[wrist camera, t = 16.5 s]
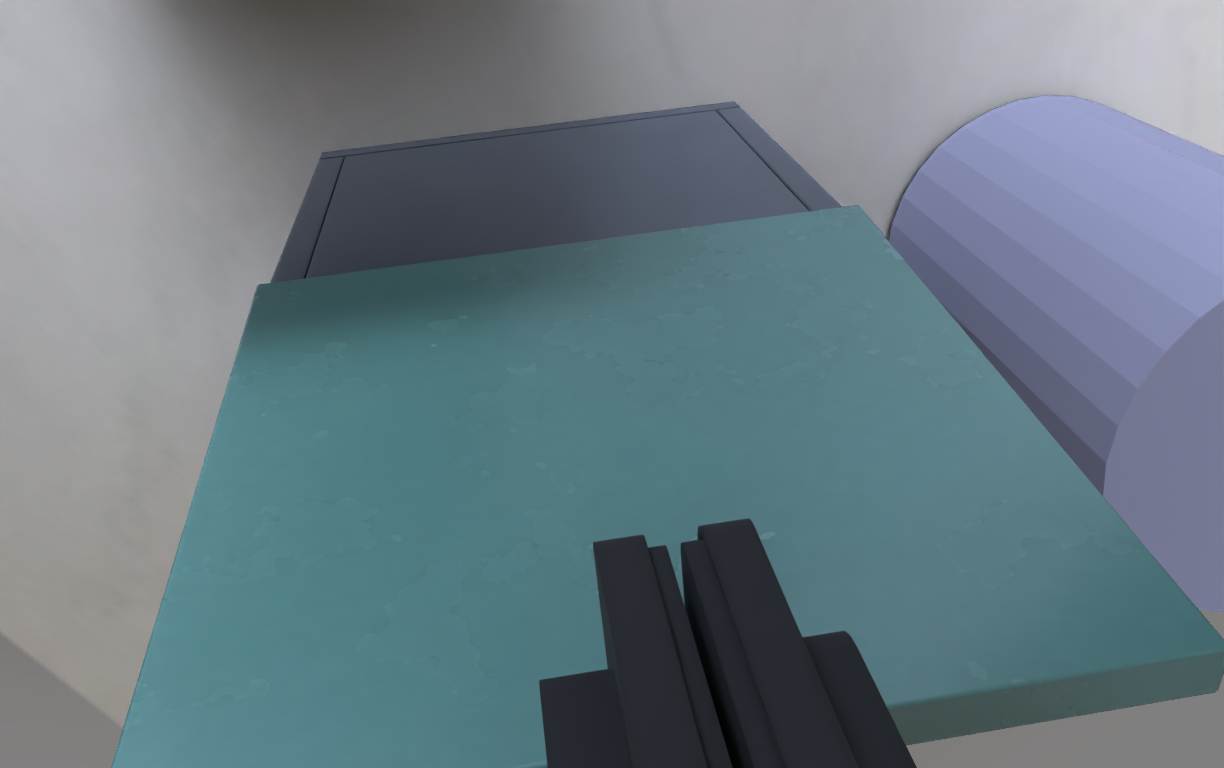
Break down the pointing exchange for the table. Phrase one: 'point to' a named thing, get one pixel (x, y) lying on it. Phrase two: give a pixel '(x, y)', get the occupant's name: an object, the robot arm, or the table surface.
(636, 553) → the robot arm
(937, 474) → the lid
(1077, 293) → the light purple upright cylinder
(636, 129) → the bin
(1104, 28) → the table surface
